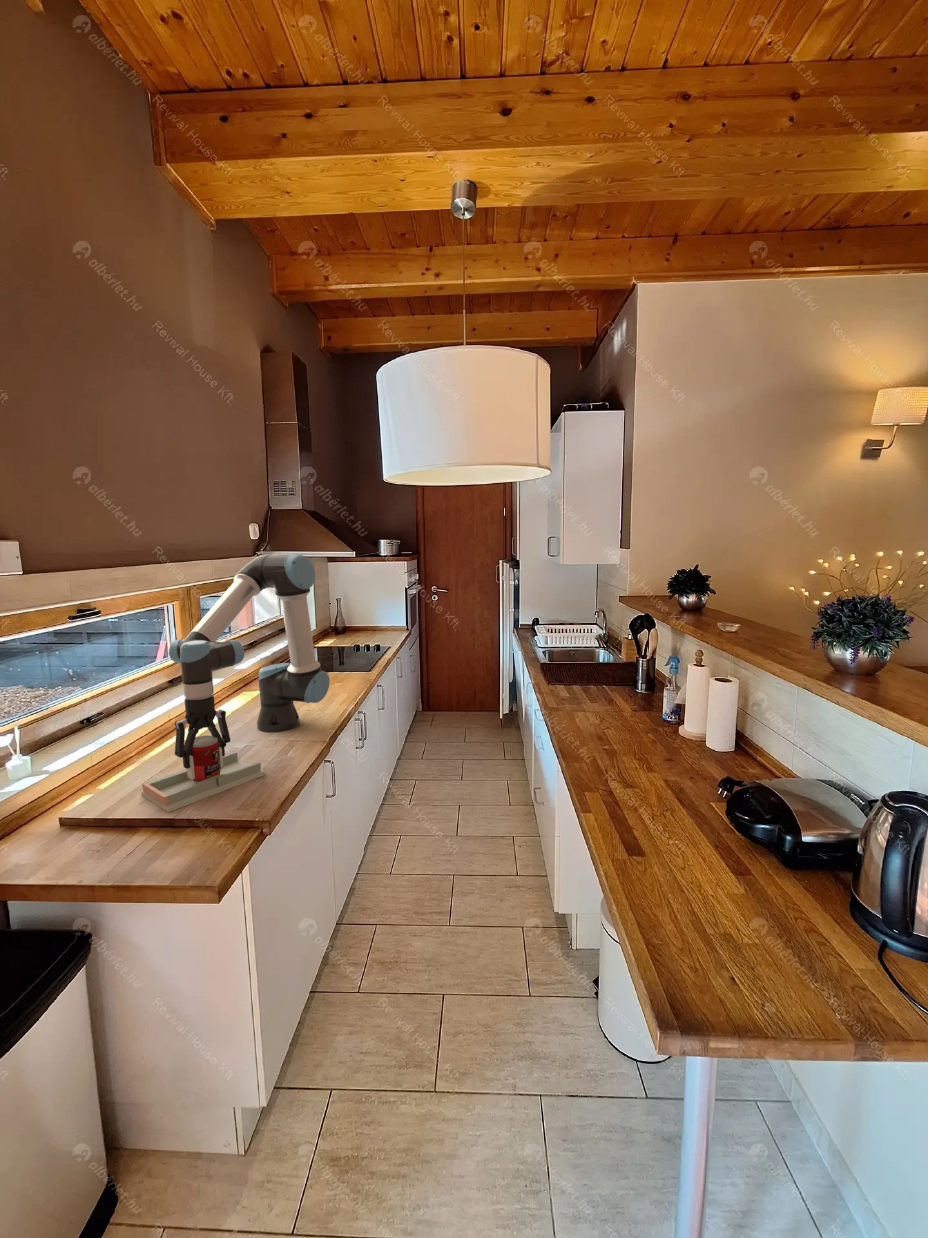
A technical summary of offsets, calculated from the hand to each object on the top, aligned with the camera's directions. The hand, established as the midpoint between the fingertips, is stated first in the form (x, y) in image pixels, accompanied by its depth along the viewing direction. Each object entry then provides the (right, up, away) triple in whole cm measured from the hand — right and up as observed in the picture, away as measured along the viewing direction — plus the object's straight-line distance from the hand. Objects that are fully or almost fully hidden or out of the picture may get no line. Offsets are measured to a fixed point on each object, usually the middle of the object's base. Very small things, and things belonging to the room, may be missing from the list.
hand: (205, 772), depth 158 cm
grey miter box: (0, -4, 0) cm, 4 cm away
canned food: (0, -1, 0) cm, 1 cm away
